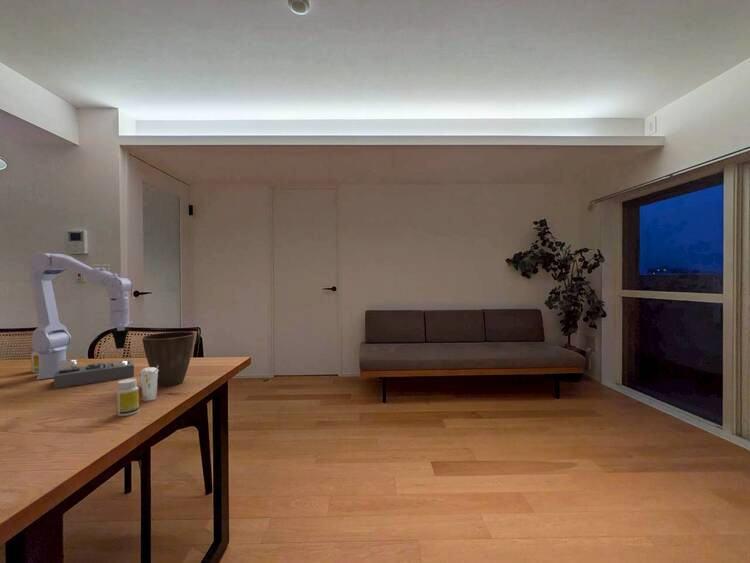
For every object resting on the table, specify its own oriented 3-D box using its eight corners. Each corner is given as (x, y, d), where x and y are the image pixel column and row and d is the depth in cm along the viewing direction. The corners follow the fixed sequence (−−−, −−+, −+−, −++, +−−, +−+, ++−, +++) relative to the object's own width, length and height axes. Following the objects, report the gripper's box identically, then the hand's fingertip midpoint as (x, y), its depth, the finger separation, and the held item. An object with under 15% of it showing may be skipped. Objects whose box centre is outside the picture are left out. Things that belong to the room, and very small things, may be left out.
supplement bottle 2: (143, 410, 93) (142, 379, 93) (125, 417, 88) (124, 384, 88) (130, 408, 94) (129, 377, 94) (112, 415, 90) (111, 382, 90)
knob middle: (87, 376, 123) (87, 363, 123) (103, 374, 126) (103, 361, 126) (87, 379, 119) (87, 366, 119) (104, 377, 122) (103, 364, 122)
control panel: (56, 380, 120) (56, 369, 120) (131, 370, 133) (130, 359, 133) (54, 388, 112) (53, 376, 112) (134, 376, 125) (133, 365, 125)
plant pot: (131, 388, 111) (130, 338, 111) (170, 375, 126) (169, 330, 126) (169, 392, 107) (168, 340, 107) (205, 378, 122) (204, 332, 122)
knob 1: (60, 373, 118) (60, 359, 118) (78, 370, 121) (77, 357, 121) (60, 376, 115) (59, 362, 115) (77, 373, 118) (77, 360, 118)
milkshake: (152, 402, 99) (151, 367, 98) (136, 401, 100) (135, 366, 99) (165, 397, 103) (164, 363, 103) (149, 396, 104) (148, 362, 104)
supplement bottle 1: (27, 372, 132) (26, 346, 131) (44, 368, 137) (43, 344, 137) (38, 373, 130) (37, 347, 130) (54, 369, 135) (53, 344, 135)
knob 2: (112, 373, 127) (112, 360, 127) (127, 371, 130) (127, 359, 130) (113, 376, 124) (113, 363, 124) (128, 373, 127) (128, 361, 127)
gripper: (134, 311, 123) (135, 350, 124) (131, 308, 135) (131, 343, 135) (109, 313, 119) (110, 352, 119) (107, 309, 130) (108, 346, 130)
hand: (120, 348), depth 127 cm, fingers closed
